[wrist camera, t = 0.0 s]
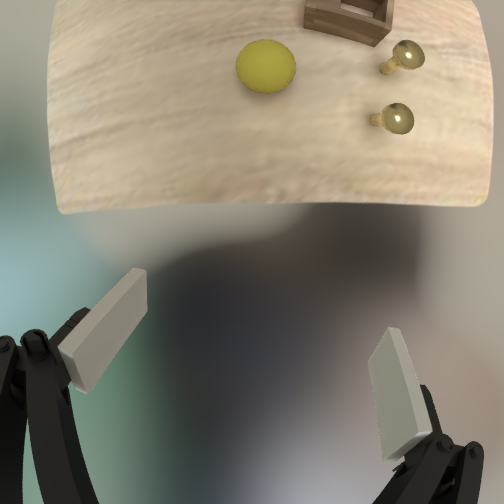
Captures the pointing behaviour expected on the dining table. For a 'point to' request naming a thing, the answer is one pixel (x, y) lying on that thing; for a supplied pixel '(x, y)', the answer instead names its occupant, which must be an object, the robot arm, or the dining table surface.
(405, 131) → the post
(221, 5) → the dining table surface
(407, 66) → the post
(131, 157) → the dining table surface
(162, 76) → the dining table surface
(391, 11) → the keyhole block
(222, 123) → the dining table surface
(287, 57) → the light bulb
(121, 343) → the robot arm
